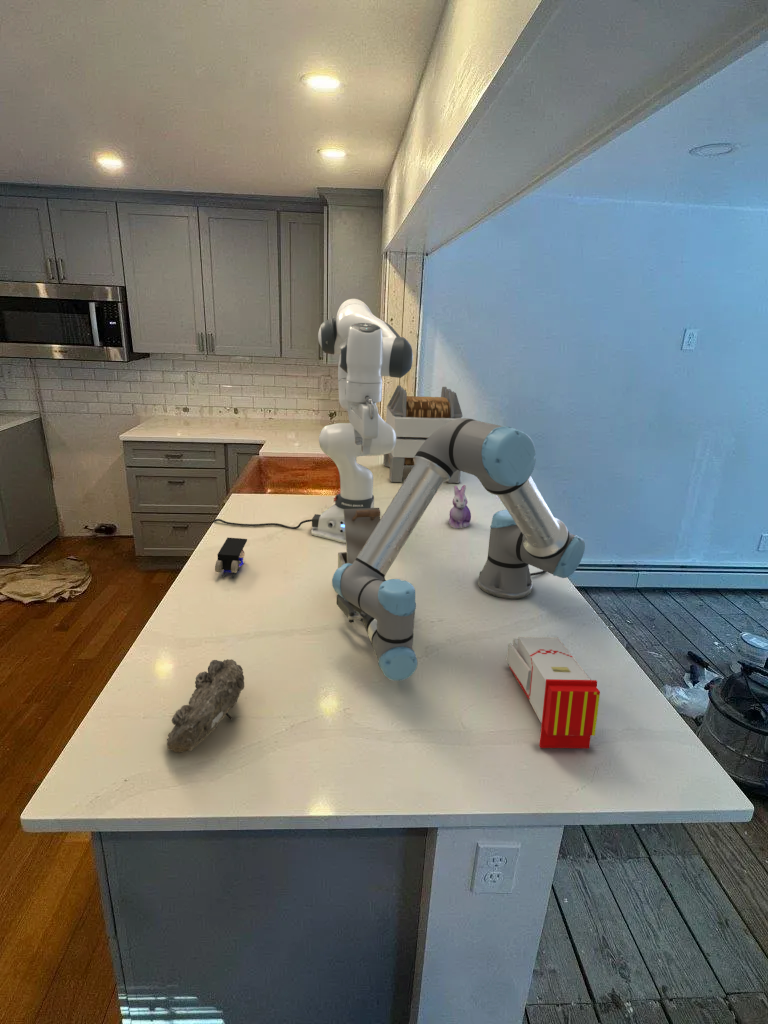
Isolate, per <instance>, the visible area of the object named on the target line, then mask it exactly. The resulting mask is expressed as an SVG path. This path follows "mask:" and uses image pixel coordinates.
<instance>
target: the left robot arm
mask: <svg viewBox="0 0 768 1024" xmlns="http://www.w3.org/2000/svg"><path fill="white" fill-rule="evenodd" d="M317 339H318V344H319V345H320V348H321V350H322V352H323V353H324V354H328V355H339V358H338V365H337V387H338V388H337V389H338V390H337V391H338V403H339V406H340V407H341V408H342V409H343V410H344V411H345V412H347V416H348V422H337V423H332V424H328V425H325V426H324V427H322V429H321V431H320V432H319V435H318V444H319V447H320V450H321V451H322V452H323V454H325V455H326V456H327V457H329V458H330V459H331V460H332V462H333V463H334V464H335V466H336V467H337V470H338V474H339V483H340V484H339V485H340V488H339V489H340V490H339V491H338V492H337V494H336V495H335V496H334V497H333V502H334V504H333V505H331V506H329V507H328V508H326V509H325V510H323V512H321V514H318V513H315V514H314V515H313V517H312V518H311V519H305V520H302V521H301V522H299V523H298V525H296V526H288V525H285V524H282V523H276V522H265V523H239V522H238V523H237V522H230V521H226V520H224V519H220V518H215V519H214V520H212V521H211V523H215V522H221V523H224V524H226V525H231V526H240V527H263V526H279V527H281V528H282V527H283V528H285V529H286V528H287V529H291V530H297V529H299V528H300V527H301V525H303V524H305V523H311V527H312V528H311V530H310V533H311V536H315V537H319V538H323V539H326V540H330V541H336V542H339V543H343V544H346V537H345V524H344V509H360V508H375V496H374V474H373V472H372V471H371V469H369V468H368V467H366V466H364V465H362V464H359V463H358V462H357V458H358V457H378V456H384V454H388V453H391V452H392V450H393V449H394V447H395V445H396V433H395V431H394V429H393V428H392V427H391V426H390V425H389V424H387V423H386V420H384V419H383V418H382V417H381V415H380V414H379V408H378V406H377V403H380V402H382V400H383V399H382V398H383V397H382V395H383V377H390V378H397V379H401V378H402V377H404V376H405V375H406V374H408V373H409V372H410V371H411V369H412V366H413V360H414V352H413V348H412V345H411V343H410V342H409V341H408V339H406V338H405V337H403V336H401V335H399V334H398V332H397V330H395V329H394V327H392V325H390V324H389V323H388V322H386V321H384V320H383V319H381V318H379V317H377V316H376V315H374V314H373V313H372V311H371V309H370V307H369V306H368V305H367V304H366V303H365V302H364V301H362V300H360V299H359V298H348V299H346V300H345V301H343V302H342V303H341V305H340V306H339V307H338V309H337V312H336V317H333V316H330V317H329V319H326V320H324V321H323V322H322V323H321V324H320V327H319V330H318V334H317Z"/></svg>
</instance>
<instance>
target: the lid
mask: <svg viewBox="0 0 768 1024" xmlns="http://www.w3.org/2000/svg"><path fill="white" fill-rule="evenodd" d="M380 519H381V510H380V507H374V508H360V509H344V524H345V537H346V543H345V548H346V552H347V563H350V564H353V562H354V561H355V560H356V558H357V556H358V554H359V553H360V551H361V550H362V548H363V546H364V545H365V543H366V542H367V540H368V538H369V537H370V535H371V534H372V532H373V530H374V529H375V527H376V526H377V524H378V522H379V521H380Z"/></svg>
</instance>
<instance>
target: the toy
mask: <svg viewBox="0 0 768 1024" xmlns="http://www.w3.org/2000/svg"><path fill="white" fill-rule="evenodd" d="M505 659H506V660H505V661H506V663H507V664H508V666H509V667H508V669H510V671H511V673H512V674H513V676H514V678H515V680H516V681H517V683H518V685H519V686H520V688H521V689H522V691H523V693H524V694H525V696H526V698H527V700H529V703H530V705H531V707H532V708H533V711H534V712H535V715H536V716H537V718H538V720H539V722H540V725H541V726H540V736H539V744H538V746H539V748H540V749H590V746H591V736H592V737H595V735H596V731H597V730H596V729H597V722H598V721H597V720H598V714H599V713H598V712H599V703H600V697H601V691H600V690H599V688H598V680H596V679H591V678H590V677H589V675H588V674H587V673H586V672H585V670H584V669H583V668H582V667H581V665H580V664H579V663H578V661H577V660H576V659H575V657H574V656H573V655H572V653H570V650H569V649H568V648H567V647H566V645H564V643H563V642H562V641H561V639H560V638H559V637H548V636H547V637H546V636H545V637H543V636H518V638H517V637H515V638H512V643H511V642H508V646H507V653H506V658H505Z"/></svg>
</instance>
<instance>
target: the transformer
mask: <svg viewBox="0 0 768 1024" xmlns="http://www.w3.org/2000/svg"><path fill="white" fill-rule="evenodd" d="M440 393H441V394H440V396H415V395H414V396H413V395H412V396H411V395H407V394H408V393H407V390H406V389H404V388H403V387H402V385H399V384H398V385H397V386H396V388H395V390H394V392H393V394H392V395H391V398H390V400H389V402H388V404H387V405H386V413H385V414H386V415H385V422H386V423H387V424H389V425H390V426H391V427H392V428H393V429H394V431H395V433H396V445H395V447H394V449H393V450H392V452H391V453H388V454H384V455H383V466H384V467H388V468H389V475H388V476H389V477H388V478H389V480H390V482H391V483H403V475H404V469H405V466H406V467H407V466H411V467H413V466H414V460H413V458H414V456H415V455H416V453H417V451H418V450H419V448H420V447H421V446H422V444H423V443H424V442H425V441H426V440H427V439H428V438H429V437H430V436H431V435H432V434H433V433H434V432H435V431H436V430H437V429H439V428H440V427H441V426H443V425H445V424H446V423H448V422H450V421H453V420H456V419H461V418H463V411H462V408H461V405H460V402H459V398H458V395H457V392H455V391H453V390H452V389H451V388H447V386H442V387H441V392H440ZM461 472H462V471H460V470H457V471H456V472H454V473H453V475H452V476H451V478H450V480H449V481H446V482H447V483H449V484H455V483H456V484H459V483H461Z"/></svg>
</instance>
